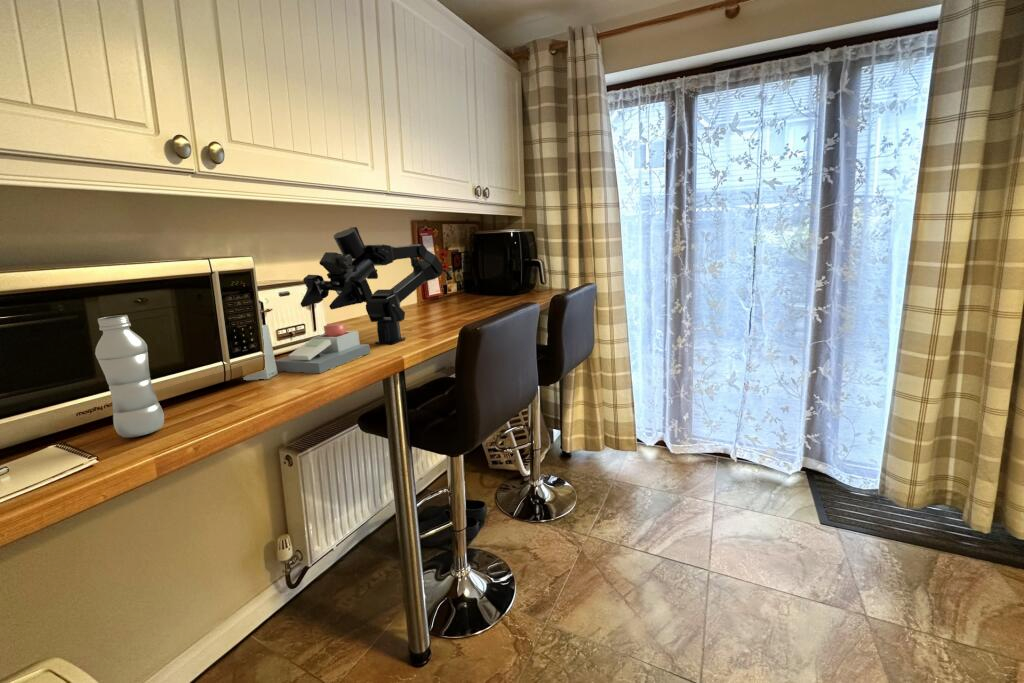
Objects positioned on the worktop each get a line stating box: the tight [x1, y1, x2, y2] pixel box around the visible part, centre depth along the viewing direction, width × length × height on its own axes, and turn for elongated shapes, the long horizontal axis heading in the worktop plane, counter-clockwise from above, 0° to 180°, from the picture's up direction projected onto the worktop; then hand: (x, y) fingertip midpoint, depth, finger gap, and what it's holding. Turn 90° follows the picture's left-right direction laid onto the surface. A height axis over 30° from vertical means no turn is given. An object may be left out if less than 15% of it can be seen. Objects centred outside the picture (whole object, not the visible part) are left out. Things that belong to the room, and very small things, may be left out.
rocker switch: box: [287, 339, 331, 360], centre depth 115 cm, size 8×6×1 cm
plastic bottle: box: [94, 314, 165, 439], centre depth 77 cm, size 6×7×20 cm
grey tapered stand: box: [242, 324, 279, 381], centre depth 108 cm, size 6×4×12 cm
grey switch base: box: [275, 330, 371, 374], centre depth 119 cm, size 18×14×6 cm
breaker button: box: [323, 323, 346, 337], centre depth 123 cm, size 5×5×4 cm
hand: (315, 306), depth 113 cm, fingers open, 9 cm apart
